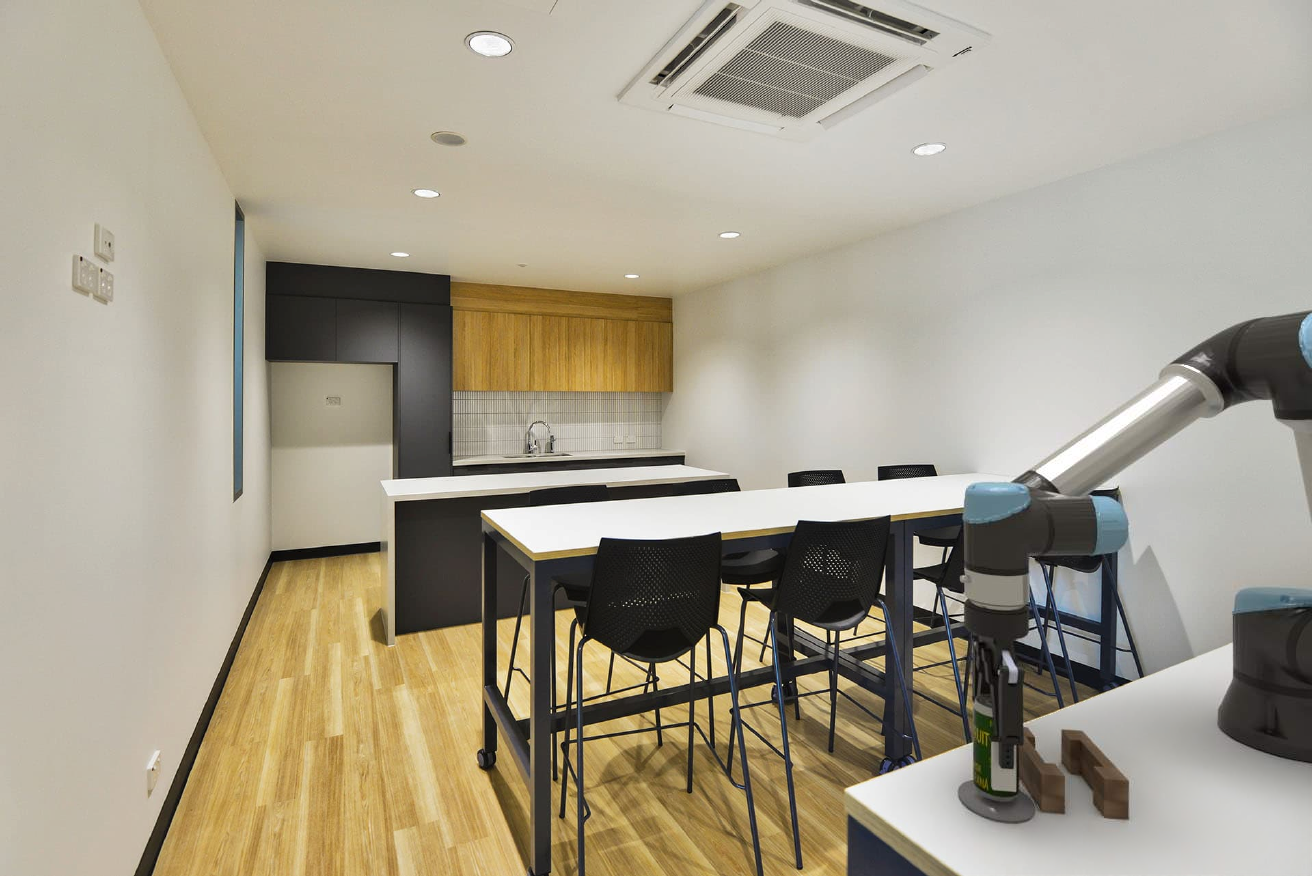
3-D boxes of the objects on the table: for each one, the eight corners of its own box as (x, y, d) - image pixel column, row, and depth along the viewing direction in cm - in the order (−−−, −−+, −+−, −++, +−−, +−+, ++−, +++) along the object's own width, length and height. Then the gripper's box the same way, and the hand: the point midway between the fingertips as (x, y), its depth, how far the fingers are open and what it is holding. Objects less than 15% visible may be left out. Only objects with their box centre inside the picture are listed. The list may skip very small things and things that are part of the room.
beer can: (1002, 778, 90) (1002, 691, 89) (1028, 801, 84) (1028, 709, 84) (964, 781, 89) (964, 694, 89) (988, 804, 84) (988, 712, 83)
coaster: (1020, 785, 90) (1020, 782, 90) (1046, 826, 82) (1046, 822, 82) (950, 780, 92) (950, 776, 92) (968, 819, 83) (968, 815, 83)
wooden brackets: (1082, 764, 95) (1082, 730, 95) (1128, 819, 83) (1128, 780, 82) (1007, 759, 97) (1007, 725, 97) (1041, 812, 85) (1041, 774, 84)
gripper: (947, 582, 95) (948, 739, 96) (986, 623, 77) (986, 815, 78) (1003, 583, 94) (1003, 743, 95) (1056, 625, 76) (1055, 821, 77)
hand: (996, 775), depth 87 cm, fingers closed on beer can, 5 cm apart
